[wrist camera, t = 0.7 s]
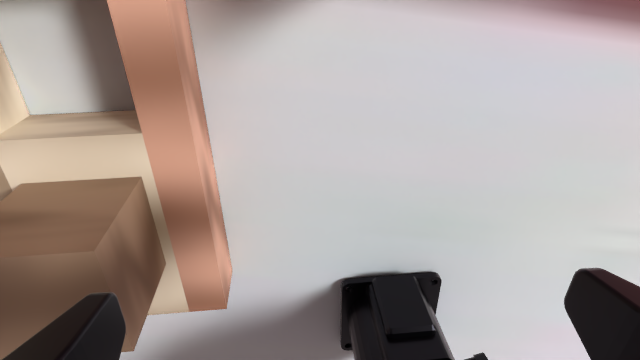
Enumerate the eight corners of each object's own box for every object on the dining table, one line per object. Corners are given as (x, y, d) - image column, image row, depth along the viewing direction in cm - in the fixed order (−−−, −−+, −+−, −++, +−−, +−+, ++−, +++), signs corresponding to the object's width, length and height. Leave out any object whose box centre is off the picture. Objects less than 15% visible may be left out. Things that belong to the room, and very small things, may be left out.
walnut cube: (166, 263, 19) (133, 350, 15) (62, 271, 19) (-2, 363, 15) (141, 176, 17) (94, 251, 13) (21, 183, 17) (-70, 262, 12)
